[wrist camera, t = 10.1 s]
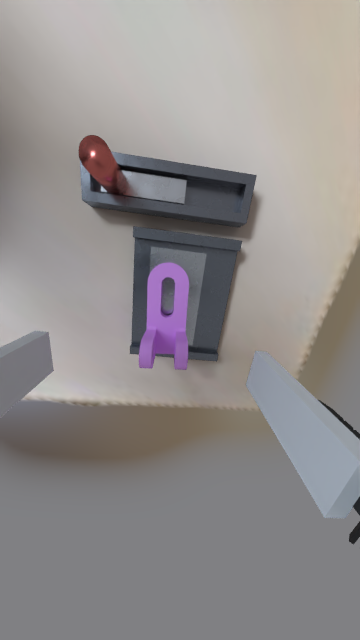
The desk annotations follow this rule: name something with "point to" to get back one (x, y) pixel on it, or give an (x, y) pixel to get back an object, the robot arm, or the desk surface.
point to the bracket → (166, 318)
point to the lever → (127, 176)
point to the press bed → (204, 284)
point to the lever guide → (200, 197)
